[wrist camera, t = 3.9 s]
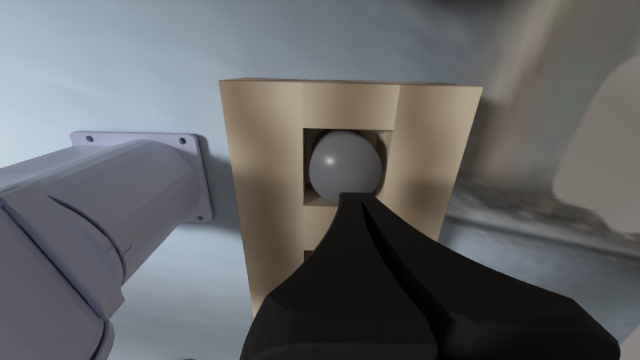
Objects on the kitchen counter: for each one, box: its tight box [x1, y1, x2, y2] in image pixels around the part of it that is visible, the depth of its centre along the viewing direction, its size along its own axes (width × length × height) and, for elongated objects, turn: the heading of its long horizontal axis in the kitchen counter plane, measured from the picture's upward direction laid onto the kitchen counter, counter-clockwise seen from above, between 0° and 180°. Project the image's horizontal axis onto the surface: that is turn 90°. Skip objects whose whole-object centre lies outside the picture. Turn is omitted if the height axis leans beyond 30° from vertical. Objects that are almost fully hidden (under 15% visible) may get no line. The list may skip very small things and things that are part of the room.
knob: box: [309, 129, 382, 204], centre depth 16 cm, size 4×4×4 cm
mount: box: [219, 78, 483, 318], centre depth 20 cm, size 14×28×4 cm, turn 179°
